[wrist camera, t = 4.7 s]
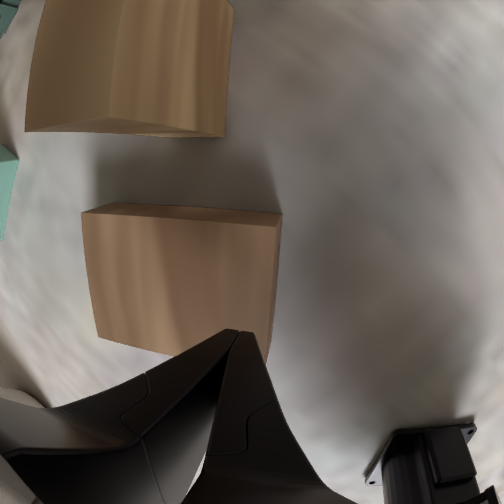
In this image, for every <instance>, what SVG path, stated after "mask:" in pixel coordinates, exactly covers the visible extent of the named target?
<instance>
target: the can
mask: <svg viewBox="0 0 504 504" xmlns="http://www.w3.org/2000/svg"><path fill="white" fill-rule="evenodd" d="M20 1H21V0H0V37H1V35H2V33H5V32H6V30H7V28H8V26H9V24H10V22H11V21H12V19H13V17H14V15H15V13H16V12H17V10H18V9H17V6H18V4H19V3H20Z"/></svg>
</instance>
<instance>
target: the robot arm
mask: <svg viewBox="0 0 504 504" xmlns="http://www.w3.org/2000/svg"><path fill="white" fill-rule="evenodd" d="M476 430H477V427H476V425H475V424H474V423H469V424H461V425H452V426H443V427H431V428H415V429H399V430H396V431H394V432H393V433H392V434H391V436H390V438H389V440H388V441H387V443H386V445H385V447H384V449H383V450H382V452H381V454H380V456H379V457H378V459H377V461H376V462H375V464H374V466H373V467H372V469H371V471H370V472H369V474H368V475H367V477H366V478H365V485H367V486H381V485H383V494H384V504H501V501H500V499H499V496H498V494H497V492H496V490H495V488H494V485H492V486H490V487H489V488H487V489H485V491H484V492H483V493H481V494H480V490H479V487H478V484H477V480H476V477H475V476H476V474H477V472H476V469H475V466H474V463H473V460H472V457H471V454H470V451H469V449H468V446H467V443H468V442H469V441H470V439H471V438H472V436H473V435H474V433H475V432H476ZM206 449H207V451H206ZM205 452H206V455H205V460H204V464H203V468H202V471H201V474H200V475H199V477H198V479H197V480H196V482H195V483H194V485H193V486H192V488H191V489H190V491H189V492H188V494H187V495H186V493H187V491H188V489H189V487H190V485H191V483H192V480H193V478H194V476H195V474H196V472H197V469H198V467H199V465H200V463H201V461H202V458H203V456H204V454H205ZM0 504H357V503H355V502H353V501H351V500H349V499H347V498H345V497H344V496H342V495H340V494H338V493H336V492H334V491H332V490H331V489H330V488H329V487H327V486H326V485H325V484H324V483H323V481H322V480H321V479H320V478H319V476H318V475H317V473H316V472H315V470H314V468H313V467H312V465H311V464H310V462H309V460H308V459H307V457H306V455H305V454H304V452H303V451H302V449H301V447H300V446H299V444H298V442H297V441H296V439H295V437H294V435H293V433H292V432H291V430H290V428H289V426H288V424H287V422H286V419H285V417H284V415H283V412H282V410H281V407H280V404H279V401H278V399H277V396H276V393H275V390H274V388H273V385H272V382H271V379H270V376H269V373H268V371H267V368H266V365H265V362H264V359H263V356H262V353H261V350H260V347H259V344H258V342H257V339H256V336H255V333H254V332H248V331H240V332H239V330H235V329H228V328H226V329H224V330H222V331H220V332H218V333H217V334H215V335H213V336H211V337H209V338H208V339H206V340H204V341H202V342H200V343H199V344H197V345H195V346H193V347H191V348H190V349H188V350H186V351H184V352H182V353H180V354H179V355H177V356H175V357H173V358H171V359H169V360H167V361H165V362H164V363H162V364H160V365H158V366H156V367H154V368H152V369H150V370H148V371H146V372H145V374H144V373H142V374H140V375H138V376H137V377H135V378H133V379H130V380H128V381H126V382H124V383H122V384H120V385H118V386H115V387H113V388H110V389H108V390H105V391H103V392H100V393H97V394H95V395H92V396H89V397H86V398H83V399H81V400H78V401H75V402H72V403H69V404H66V405H63V406H60V407H55V408H38V407H33V406H29V405H25V404H21V403H18V402H14V401H11V400H7V399H4V398H1V397H0Z"/></svg>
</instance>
